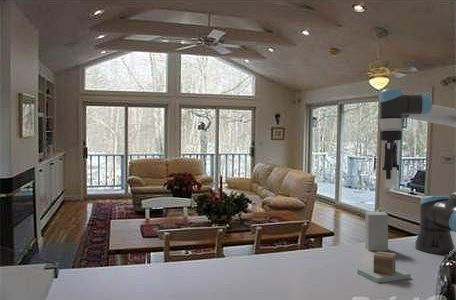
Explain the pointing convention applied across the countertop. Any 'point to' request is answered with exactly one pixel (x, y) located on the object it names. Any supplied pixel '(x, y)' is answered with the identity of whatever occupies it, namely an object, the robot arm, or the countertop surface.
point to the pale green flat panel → (383, 275)
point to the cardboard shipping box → (384, 263)
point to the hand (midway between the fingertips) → (390, 185)
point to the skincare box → (376, 231)
